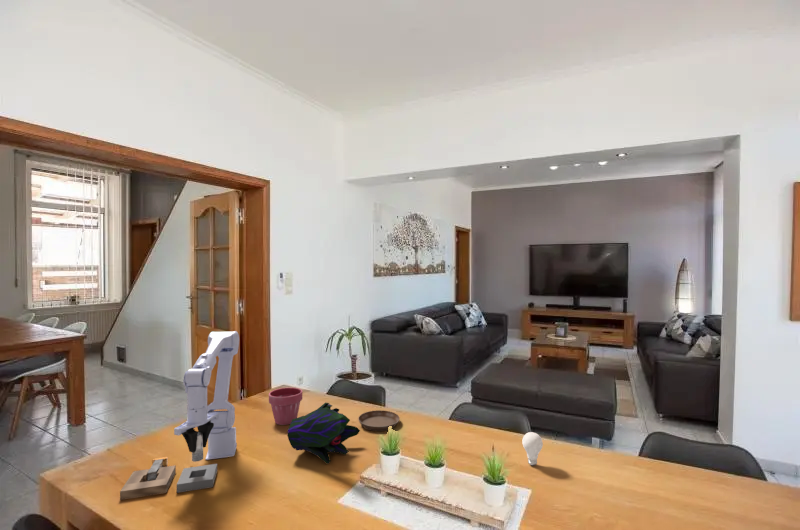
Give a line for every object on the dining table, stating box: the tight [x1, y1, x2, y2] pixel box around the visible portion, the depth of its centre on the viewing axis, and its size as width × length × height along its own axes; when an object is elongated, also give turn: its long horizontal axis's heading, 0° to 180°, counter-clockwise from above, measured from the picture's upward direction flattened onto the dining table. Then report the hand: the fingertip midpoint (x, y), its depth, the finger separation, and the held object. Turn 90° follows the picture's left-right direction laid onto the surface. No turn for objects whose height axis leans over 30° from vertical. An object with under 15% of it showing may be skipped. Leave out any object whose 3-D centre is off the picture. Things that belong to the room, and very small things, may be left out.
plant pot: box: [268, 387, 303, 426], centre depth 176 cm, size 14×14×13 cm
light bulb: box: [521, 431, 544, 466], centre depth 136 cm, size 7×7×11 cm
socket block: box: [119, 465, 177, 501], centre depth 125 cm, size 12×12×2 cm
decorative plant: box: [287, 402, 361, 465], centre depth 143 cm, size 21×26×30 cm
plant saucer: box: [357, 409, 401, 432], centre depth 172 cm, size 18×18×3 cm
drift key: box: [148, 456, 169, 481], centre depth 132 cm, size 4×10×3 cm, turn 17°
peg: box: [191, 432, 204, 463], centre depth 127 cm, size 3×3×8 cm
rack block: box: [176, 463, 218, 493], centre depth 127 cm, size 10×10×2 cm
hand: (197, 449), depth 127 cm, fingers closed on peg, 3 cm apart
